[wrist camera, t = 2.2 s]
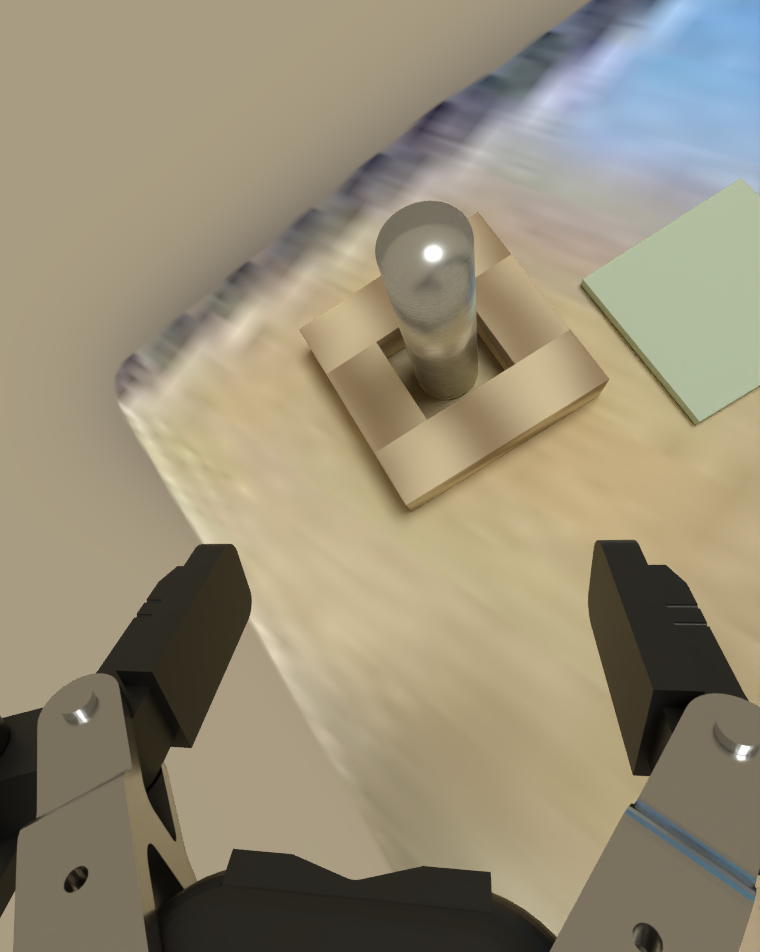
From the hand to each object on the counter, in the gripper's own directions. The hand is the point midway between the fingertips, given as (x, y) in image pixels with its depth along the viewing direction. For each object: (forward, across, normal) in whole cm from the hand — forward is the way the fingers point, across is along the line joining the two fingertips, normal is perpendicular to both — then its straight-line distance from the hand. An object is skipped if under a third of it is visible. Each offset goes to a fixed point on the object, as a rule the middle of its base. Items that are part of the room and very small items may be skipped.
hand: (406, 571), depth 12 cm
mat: (+22, -15, +1) cm, 27 cm away
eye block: (+21, 0, +3) cm, 21 cm away
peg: (+21, 0, +3) cm, 21 cm away
